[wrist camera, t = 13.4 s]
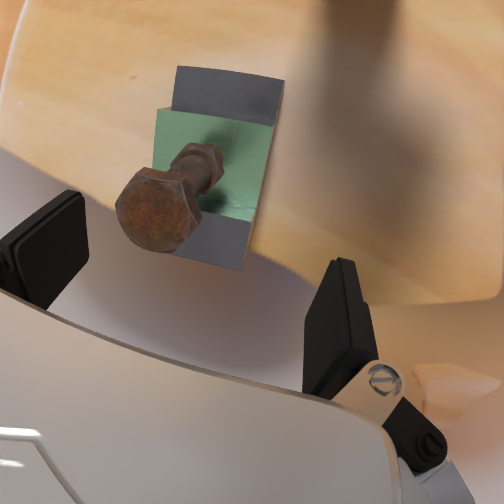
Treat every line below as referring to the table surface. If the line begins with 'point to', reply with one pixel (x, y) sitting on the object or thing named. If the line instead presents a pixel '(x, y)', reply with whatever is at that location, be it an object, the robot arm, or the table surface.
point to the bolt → (169, 198)
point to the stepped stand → (232, 147)
